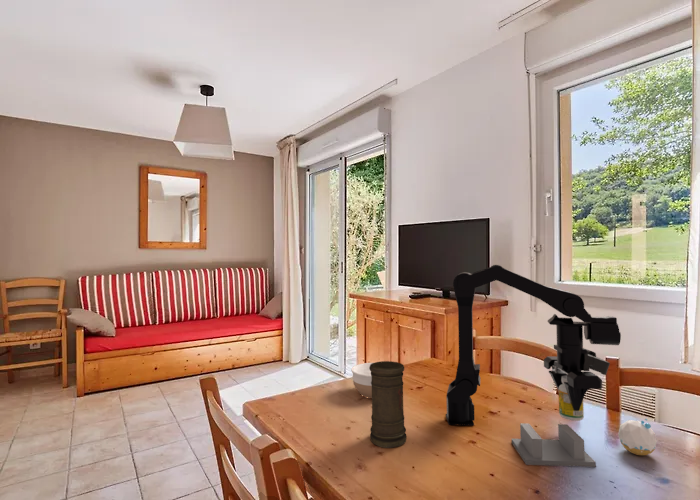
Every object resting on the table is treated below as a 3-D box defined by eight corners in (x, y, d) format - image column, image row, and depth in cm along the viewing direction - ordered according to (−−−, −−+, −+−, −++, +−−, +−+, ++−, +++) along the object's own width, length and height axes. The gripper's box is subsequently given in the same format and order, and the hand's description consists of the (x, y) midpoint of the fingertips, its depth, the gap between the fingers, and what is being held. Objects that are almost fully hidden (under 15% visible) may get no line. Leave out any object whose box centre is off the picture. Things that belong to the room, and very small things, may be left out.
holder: (526, 464, 85) (525, 440, 85) (511, 442, 95) (511, 421, 95) (595, 466, 83) (595, 442, 83) (573, 444, 93) (573, 422, 93)
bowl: (369, 382, 142) (368, 360, 142) (409, 390, 132) (409, 366, 133) (341, 395, 129) (341, 370, 129) (384, 405, 119) (384, 379, 120)
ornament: (617, 455, 88) (616, 418, 88) (621, 443, 94) (620, 408, 94) (655, 465, 84) (654, 426, 84) (657, 452, 89) (656, 415, 89)
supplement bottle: (581, 423, 95) (580, 382, 95) (556, 417, 99) (555, 378, 99) (585, 416, 99) (584, 377, 100) (561, 410, 103) (561, 373, 103)
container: (382, 451, 91) (381, 372, 92) (363, 436, 99) (361, 363, 100) (414, 442, 96) (413, 366, 96) (393, 428, 103) (392, 358, 104)
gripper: (626, 352, 89) (628, 422, 89) (585, 335, 108) (586, 394, 108) (573, 351, 90) (575, 421, 90) (542, 335, 109) (543, 393, 109)
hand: (571, 406), depth 99 cm, fingers closed on supplement bottle, 5 cm apart
